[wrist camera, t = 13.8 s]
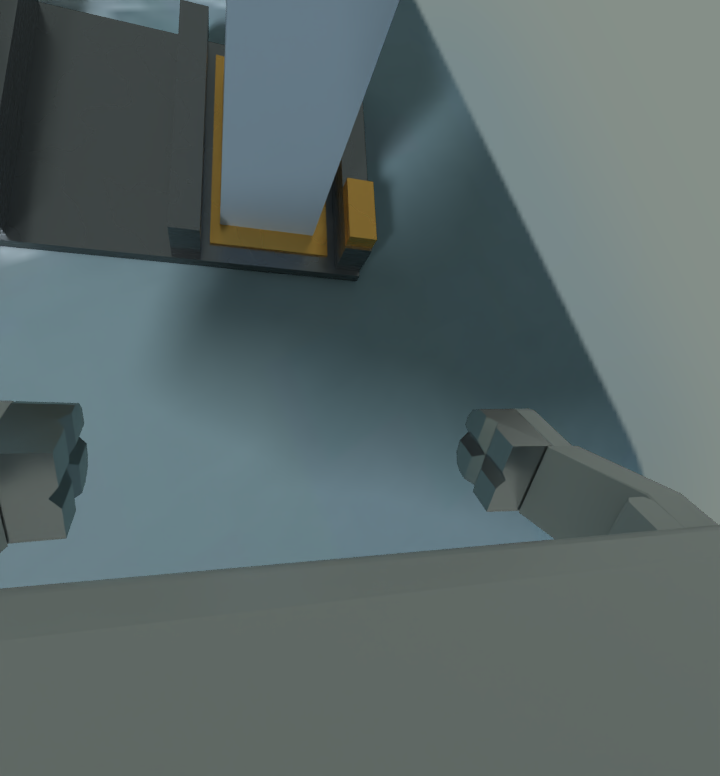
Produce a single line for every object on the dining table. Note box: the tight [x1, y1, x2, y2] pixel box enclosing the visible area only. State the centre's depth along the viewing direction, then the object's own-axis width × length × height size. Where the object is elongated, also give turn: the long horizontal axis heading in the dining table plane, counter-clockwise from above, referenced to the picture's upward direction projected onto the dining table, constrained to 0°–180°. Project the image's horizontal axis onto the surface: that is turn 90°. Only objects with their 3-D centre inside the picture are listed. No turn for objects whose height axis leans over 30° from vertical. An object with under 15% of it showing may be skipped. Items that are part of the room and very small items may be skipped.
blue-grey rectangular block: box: [220, 0, 399, 236], centre depth 14 cm, size 7×4×10 cm, turn 3°
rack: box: [0, 0, 377, 281], centre depth 16 cm, size 10×19×4 cm, turn 93°
